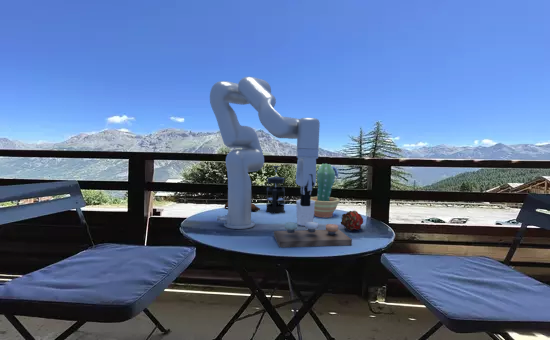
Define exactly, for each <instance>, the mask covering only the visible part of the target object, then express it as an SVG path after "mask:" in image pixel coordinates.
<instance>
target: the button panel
mask: <svg viewBox="0 0 550 340" xmlns="http://www.w3.org/2000/svg"><path fill="white" fill-rule="evenodd" d="M273 237H274V240H275V241H276V243H277V246H278V247H279V248H280V247H281V248H301V247H302V248H305V247H307V248H308V247H309V248H311V247H336V246H337V247H338V246H340V247H341V246H352V245H353V243H352V242H353V239H352V238H351V237H349V236H348V235H346V233H344V232H343V231H342V230H340V229H339V228H338V231H336V232H335V235H330V234H328V231H327V230H326V229H315V232H313V233H311V232H308V229H307V230H305V229H304V230H298V229H296V230H295V232H294V233H288V232H287V230H273Z"/></svg>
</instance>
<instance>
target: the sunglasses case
mask: <svg viewBox="0 0 550 340" xmlns="http://www.w3.org/2000/svg"><path fill="white" fill-rule="evenodd" d="M225 207H228V201H227V202H225V205H224V208H225ZM260 209H261V208H260V207H259V206H257V205H256V204H255V203H254V202H253V203H252V202H251V211H253V212H254V213H257V212H258V210H259V211H261V210H260Z"/></svg>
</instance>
